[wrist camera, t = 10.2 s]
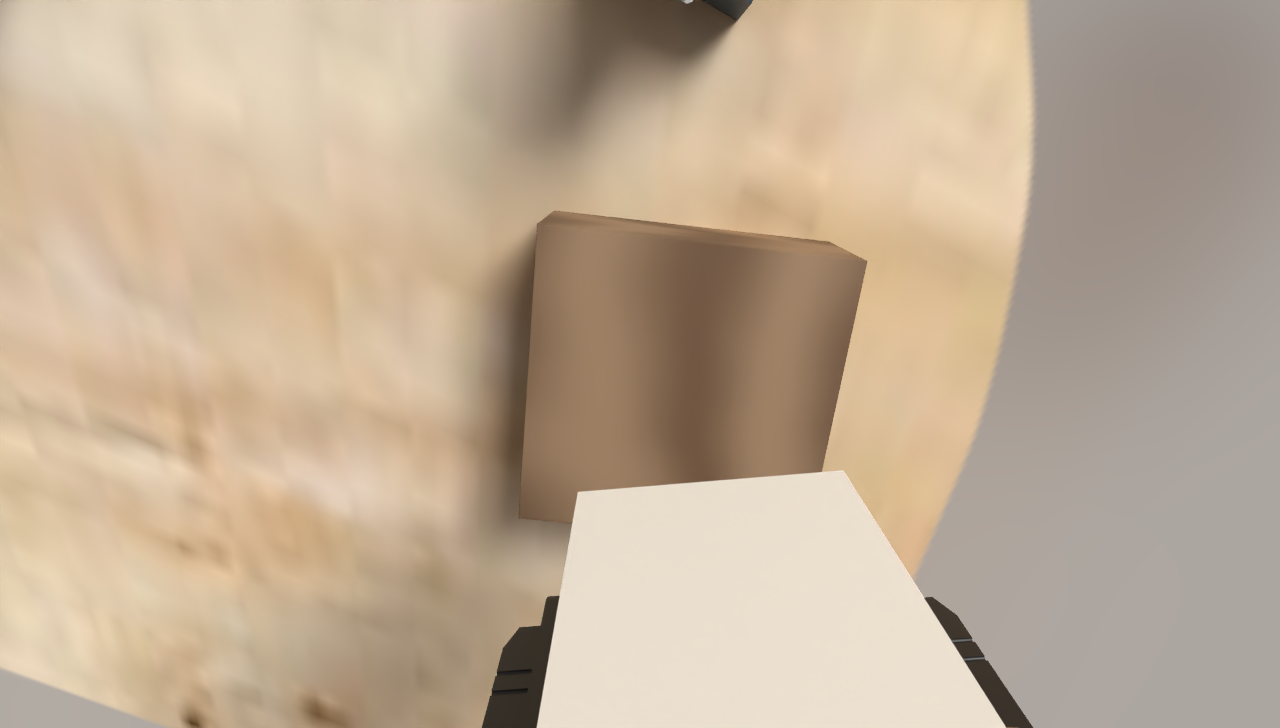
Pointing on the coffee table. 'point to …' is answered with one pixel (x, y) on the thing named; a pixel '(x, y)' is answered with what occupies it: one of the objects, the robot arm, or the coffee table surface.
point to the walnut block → (678, 356)
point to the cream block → (747, 615)
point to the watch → (728, 6)
